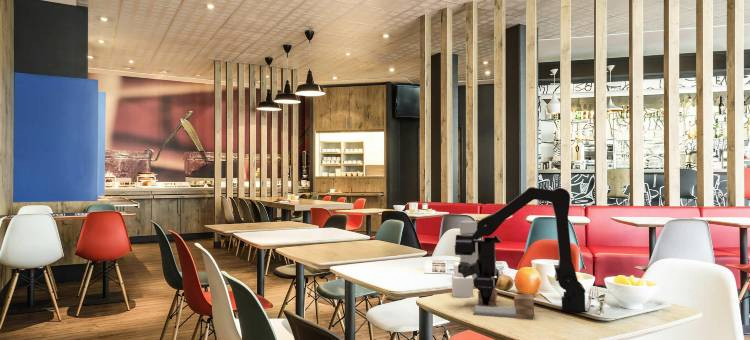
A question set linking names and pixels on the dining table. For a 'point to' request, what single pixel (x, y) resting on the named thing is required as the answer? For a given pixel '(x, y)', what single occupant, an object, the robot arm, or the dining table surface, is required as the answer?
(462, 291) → the medicine bottle
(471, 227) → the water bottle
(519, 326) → the dining table surface
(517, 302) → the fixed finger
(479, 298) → the block
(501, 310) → the rail
